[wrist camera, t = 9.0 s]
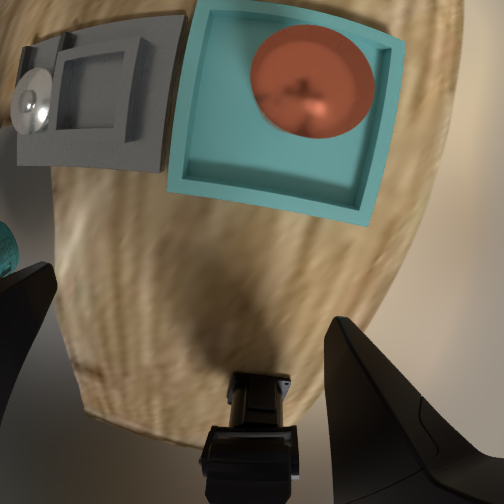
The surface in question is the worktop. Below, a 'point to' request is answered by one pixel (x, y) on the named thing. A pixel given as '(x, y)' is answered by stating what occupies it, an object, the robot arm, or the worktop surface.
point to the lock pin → (311, 82)
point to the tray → (265, 137)
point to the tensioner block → (99, 95)
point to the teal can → (7, 251)
